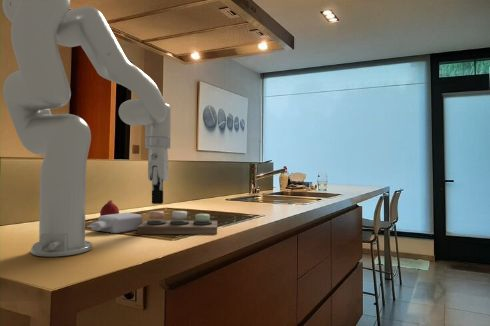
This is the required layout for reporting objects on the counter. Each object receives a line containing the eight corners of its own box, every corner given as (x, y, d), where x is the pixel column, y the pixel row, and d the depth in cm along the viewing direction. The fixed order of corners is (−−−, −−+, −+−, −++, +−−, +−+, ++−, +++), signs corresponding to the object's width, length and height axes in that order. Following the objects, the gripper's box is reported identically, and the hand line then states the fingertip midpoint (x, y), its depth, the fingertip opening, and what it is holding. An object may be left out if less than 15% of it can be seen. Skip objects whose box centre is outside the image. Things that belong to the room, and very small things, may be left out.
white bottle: (79, 233, 106) (123, 226, 118) (98, 237, 101) (142, 230, 113) (79, 217, 106) (123, 212, 118) (98, 220, 101) (142, 214, 113)
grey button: (186, 218, 110) (186, 212, 110) (171, 218, 110) (171, 212, 110) (187, 216, 115) (187, 211, 115) (173, 216, 114) (173, 210, 114)
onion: (112, 226, 117) (112, 201, 117) (96, 225, 119) (96, 200, 119) (122, 223, 123) (122, 199, 123) (106, 222, 124) (107, 198, 124)
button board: (216, 234, 107) (217, 224, 107) (136, 233, 106) (137, 224, 106) (217, 226, 119) (217, 218, 119) (145, 226, 118) (145, 218, 118)
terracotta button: (162, 218, 110) (162, 212, 110) (147, 218, 110) (147, 212, 110) (164, 216, 114) (165, 210, 114) (150, 216, 114) (150, 210, 114)
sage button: (209, 221, 111) (209, 215, 111) (194, 221, 111) (194, 215, 111) (209, 219, 115) (210, 213, 115) (195, 219, 115) (195, 213, 115)
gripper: (166, 142, 105) (166, 206, 105) (173, 144, 120) (173, 200, 120) (140, 142, 104) (139, 206, 105) (150, 144, 119) (149, 200, 119)
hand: (157, 203), depth 112 cm, fingers closed
